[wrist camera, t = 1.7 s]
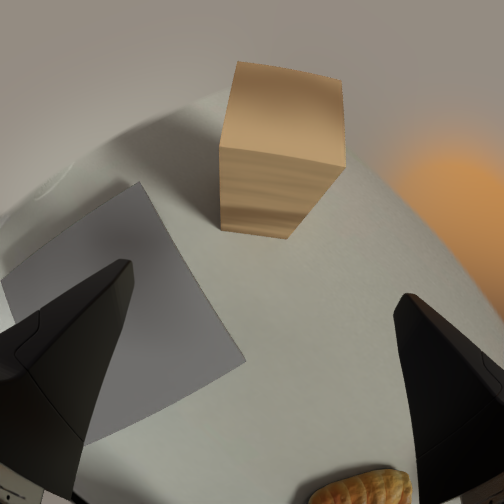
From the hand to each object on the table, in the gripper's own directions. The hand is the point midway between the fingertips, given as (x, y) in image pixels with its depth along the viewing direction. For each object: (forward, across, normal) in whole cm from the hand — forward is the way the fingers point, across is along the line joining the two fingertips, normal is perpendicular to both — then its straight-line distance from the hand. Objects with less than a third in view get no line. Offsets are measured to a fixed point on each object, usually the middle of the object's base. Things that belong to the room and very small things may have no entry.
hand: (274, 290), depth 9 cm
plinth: (+7, +10, +11) cm, 16 cm away
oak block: (+14, 0, +4) cm, 15 cm away
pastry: (-3, -12, +22) cm, 25 cm away
